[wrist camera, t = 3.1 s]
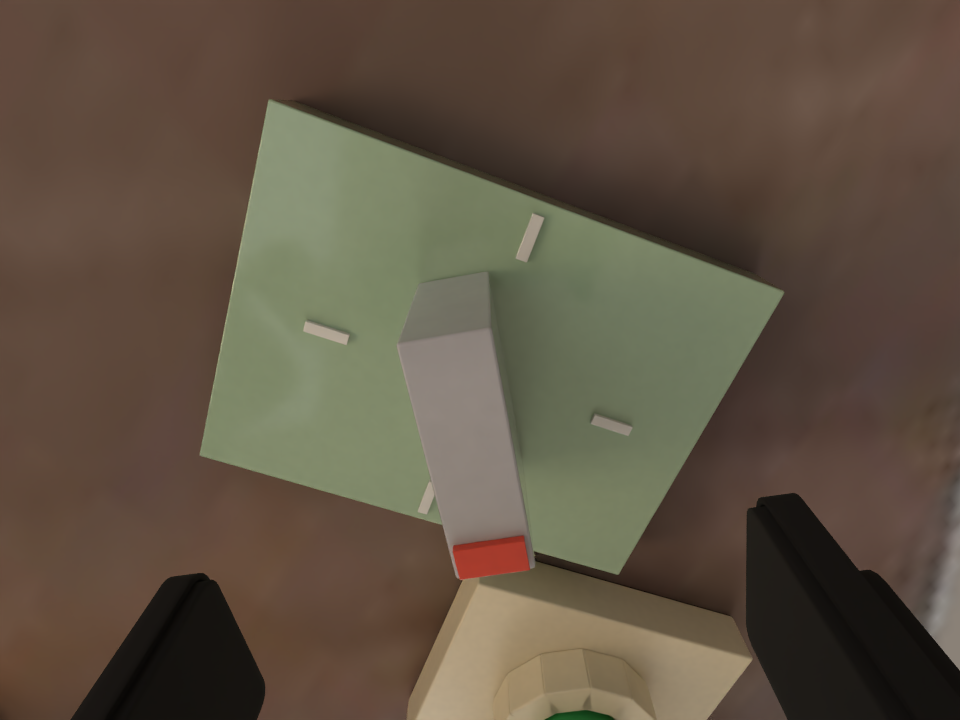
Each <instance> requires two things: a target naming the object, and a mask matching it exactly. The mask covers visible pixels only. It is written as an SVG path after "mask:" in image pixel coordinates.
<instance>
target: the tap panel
mask: <svg viewBox="0 0 960 720" xmlns="http://www.w3.org/2000/svg"><path fill="white" fill-rule="evenodd" d="M480 272H488V273H489V275H490V281H491V286H492V292H493V297H494V303H495V308H496V314H497V320H498V325H499V331H500V336H501V342H502V347H503V353H504V359H505V364H506V370H507V375H508V381H509V386H510V392H511V398H512V403H513V409H514V414H515V420H516V425H517V431H518V437H519V442H520V448H521V453H522V459H523V465H524V473H525V481H526V489H527V498H528V506H529V514H530V522H531V531H532V539H533V547H534V551H535V552H539V553H542V554H546V555H549V556H553V557H556V558H560V559H563V560H567V561H570V562H574V563H577V564H581V565H584V566H588V567H591V568H595V569H598V570H602V571H605V572H609V573H612V574H616V575H619V573H620V571H621V570H622V568H623V566H624V565H625V563H626V561H627V559H628V558H629V556H630V554H631V553H632V551H633V549H634V548H635V546H636V544H637V542H638V541H639V539H640V537H641V536H642V534H643V532H644V531H645V529H646V527H647V526H648V524H649V522H650V520H651V519H652V517H653V515H654V514H655V512H656V510H657V509H658V507H659V505H660V503H661V502H662V500H663V498H664V497H665V495H666V493H667V492H668V490H669V488H670V486H671V485H672V483H673V481H674V480H675V478H676V476H677V475H678V473H679V471H680V469H681V468H682V466H683V464H684V463H685V461H686V459H687V458H688V456H689V454H690V452H691V451H692V449H693V447H694V446H695V444H696V442H697V441H698V439H699V437H700V435H701V434H702V432H703V430H704V429H705V427H706V425H707V424H708V422H709V420H710V418H711V417H712V415H713V413H714V412H715V410H716V408H717V407H718V405H719V403H720V401H721V400H722V398H723V396H724V395H725V393H726V391H727V390H728V388H729V386H730V385H731V383H732V381H733V379H734V378H735V376H736V374H737V373H738V371H739V369H740V368H741V366H742V364H743V362H744V361H745V359H746V357H747V356H748V354H749V352H750V351H751V349H752V347H753V345H754V344H755V342H756V340H757V339H758V337H759V335H760V334H761V332H762V330H763V328H764V327H765V325H766V323H767V322H768V320H769V318H770V317H771V315H772V313H773V311H774V310H775V308H776V306H777V305H778V303H779V301H780V300H781V298H782V296H783V294H784V291H783V290H781V289H780V288H778V287H776V286H775V285H773V284H771V283H770V282H768V281H766V280H765V279H763V278H761V277H760V276H758V275H756V274H753V273H751V272H748V271H745V270H743V269H740V268H737V267H735V266H732V265H729V264H727V263H724V262H721V261H719V260H716V259H713V258H711V257H708V256H705V255H703V254H700V253H697V252H695V251H692V250H689V249H687V248H684V247H681V246H679V245H676V244H673V243H671V242H668V241H665V240H663V239H660V238H657V237H655V236H652V235H649V234H647V233H644V232H641V231H639V230H636V229H633V228H631V227H628V226H625V225H623V224H620V223H617V222H615V221H612V220H609V219H607V218H604V217H601V216H599V215H596V214H593V213H591V212H588V211H585V210H583V209H580V208H577V207H575V206H572V205H569V204H567V203H564V202H561V201H559V200H556V199H553V198H551V197H548V196H545V195H543V194H540V193H537V192H535V191H532V190H529V189H527V188H524V187H521V186H519V185H516V184H514V183H511V182H508V181H506V180H503V179H500V178H498V177H495V176H492V175H490V174H487V173H484V172H482V171H479V170H476V169H474V168H471V167H468V166H466V165H463V164H460V163H458V162H455V161H452V160H450V159H447V158H444V157H442V156H439V155H436V154H434V153H431V152H428V151H426V150H423V149H420V148H418V147H415V146H412V145H410V144H407V143H404V142H402V141H399V140H396V139H394V138H391V137H388V136H386V135H383V134H380V133H378V132H375V131H372V130H370V129H367V128H364V127H362V126H359V125H356V124H354V123H351V122H348V121H346V120H343V119H340V118H338V117H335V116H332V115H330V114H327V113H324V112H322V111H319V110H316V109H314V108H311V107H308V106H306V105H303V104H300V103H298V102H295V101H292V100H275V99H269V101H268V105H267V110H266V115H265V120H264V125H263V131H262V136H261V141H260V146H259V151H258V156H257V162H256V167H255V172H254V177H253V182H252V187H251V192H250V198H249V203H248V208H247V213H246V218H245V223H244V229H243V234H242V239H241V244H240V249H239V254H238V259H237V265H236V270H235V275H234V280H233V285H232V290H231V296H230V301H229V306H228V311H227V316H226V321H225V326H224V332H223V337H222V342H221V347H220V352H219V357H218V363H217V368H216V373H215V378H214V383H213V388H212V393H211V399H210V404H209V409H208V414H207V419H206V424H205V430H204V435H203V440H202V445H201V450H200V456H203V457H206V458H210V459H213V460H217V461H220V462H224V463H227V464H231V465H234V466H238V467H241V468H245V469H248V470H252V471H255V472H259V473H262V474H266V475H269V476H273V477H276V478H280V479H283V480H287V481H290V482H294V483H297V484H301V485H304V486H308V487H311V488H315V489H318V490H322V491H325V492H329V493H332V494H336V495H339V496H343V497H346V498H350V499H353V500H357V501H360V502H364V503H367V504H371V505H374V506H378V507H381V508H385V509H388V510H392V511H395V512H399V513H402V514H406V515H409V516H413V517H416V518H420V519H423V520H427V521H430V522H434V523H437V524H441V525H442V521H441V518H440V514H439V510H438V506H437V502H436V498H435V494H434V490H433V487H432V483H431V479H430V475H429V471H428V467H427V463H426V459H425V456H424V452H423V448H422V444H421V440H420V436H419V432H418V428H417V425H416V421H415V417H414V413H413V409H412V405H411V401H410V397H409V394H408V390H407V386H406V382H405V378H404V374H403V370H402V366H401V363H400V359H399V355H398V351H397V347H396V346H397V342H398V339H399V336H400V333H401V331H402V328H403V325H404V322H405V319H406V317H407V314H408V311H409V308H410V305H411V303H412V300H413V297H414V294H415V291H416V289H417V286H418V284H419V283H424V282H430V281H435V280H441V279H446V278H452V277H458V276H463V275H469V274H475V273H480Z"/></svg>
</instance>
